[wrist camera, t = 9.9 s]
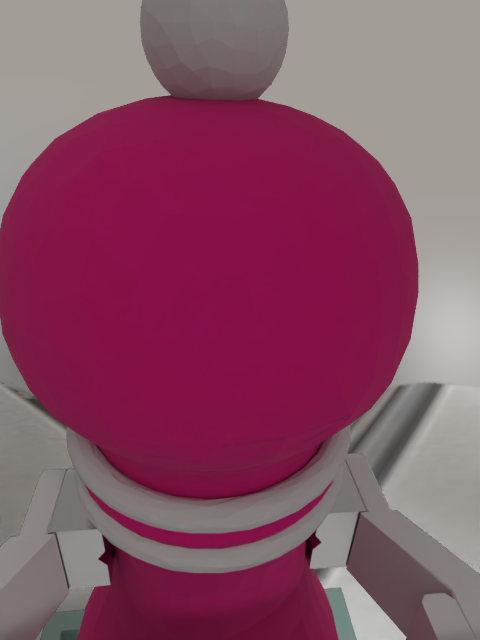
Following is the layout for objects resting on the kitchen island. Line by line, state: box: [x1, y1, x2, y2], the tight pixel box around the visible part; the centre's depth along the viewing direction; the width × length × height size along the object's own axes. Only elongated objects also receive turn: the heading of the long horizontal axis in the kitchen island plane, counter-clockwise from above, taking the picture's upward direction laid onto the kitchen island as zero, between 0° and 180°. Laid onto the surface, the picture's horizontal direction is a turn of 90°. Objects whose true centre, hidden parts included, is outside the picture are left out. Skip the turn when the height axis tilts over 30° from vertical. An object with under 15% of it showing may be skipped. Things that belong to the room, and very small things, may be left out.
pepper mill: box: [0, 0, 418, 640], centre depth 10 cm, size 7×7×20 cm
